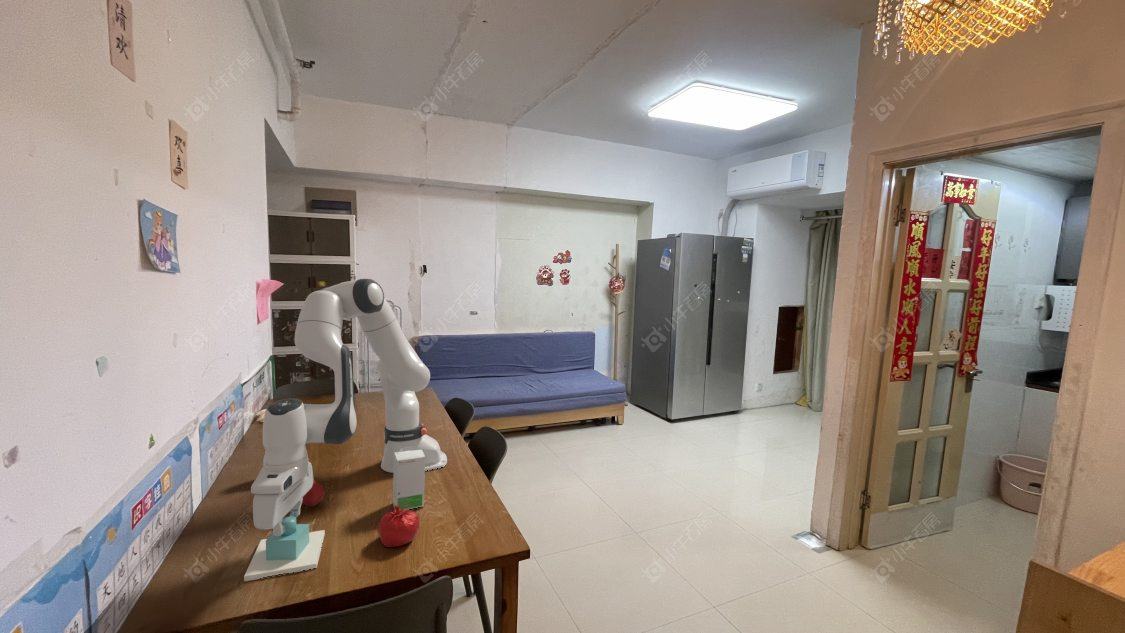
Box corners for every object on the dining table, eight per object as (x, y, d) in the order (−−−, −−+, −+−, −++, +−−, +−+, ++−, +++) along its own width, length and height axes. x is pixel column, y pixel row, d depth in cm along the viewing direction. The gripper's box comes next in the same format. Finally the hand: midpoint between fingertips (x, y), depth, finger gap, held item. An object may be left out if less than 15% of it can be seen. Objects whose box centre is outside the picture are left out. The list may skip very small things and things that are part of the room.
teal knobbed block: (281, 542, 109) (280, 512, 108) (309, 542, 110) (308, 512, 109) (266, 560, 103) (265, 528, 102) (296, 559, 103) (295, 527, 103)
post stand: (324, 534, 115) (324, 517, 115) (316, 568, 102) (316, 549, 102) (261, 544, 110) (260, 526, 110) (244, 581, 97) (243, 561, 97)
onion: (308, 514, 124) (307, 486, 123) (297, 507, 127) (296, 481, 126) (328, 505, 129) (327, 479, 128) (317, 499, 132) (316, 473, 131)
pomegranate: (418, 548, 111) (419, 513, 110) (375, 554, 108) (375, 518, 107) (419, 526, 121) (420, 494, 120) (380, 531, 118) (380, 498, 117)
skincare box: (395, 513, 126) (395, 461, 125) (392, 502, 132) (392, 452, 131) (425, 507, 130) (425, 456, 129) (421, 496, 136) (421, 448, 135)
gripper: (294, 451, 114) (295, 502, 115) (245, 490, 94) (247, 552, 95) (319, 451, 115) (320, 502, 116) (277, 490, 94) (278, 551, 96)
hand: (287, 525), depth 105 cm, fingers open, 6 cm apart
